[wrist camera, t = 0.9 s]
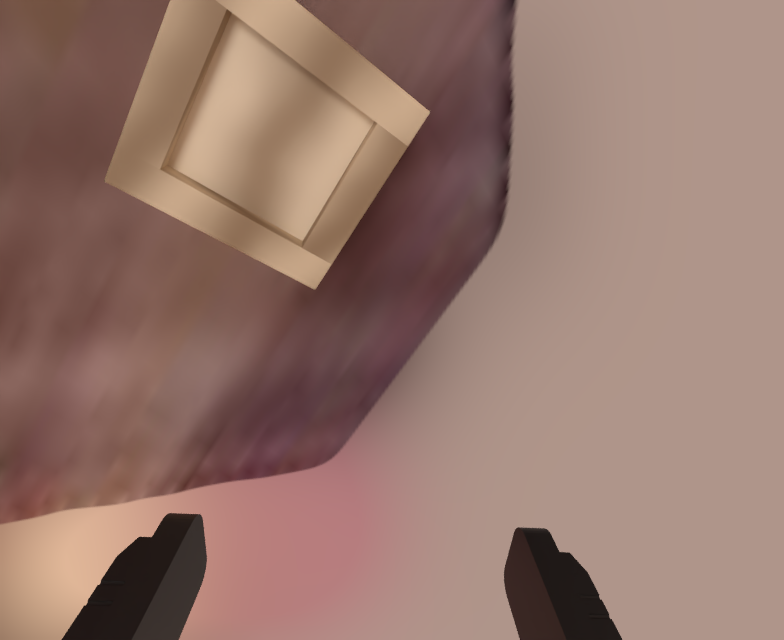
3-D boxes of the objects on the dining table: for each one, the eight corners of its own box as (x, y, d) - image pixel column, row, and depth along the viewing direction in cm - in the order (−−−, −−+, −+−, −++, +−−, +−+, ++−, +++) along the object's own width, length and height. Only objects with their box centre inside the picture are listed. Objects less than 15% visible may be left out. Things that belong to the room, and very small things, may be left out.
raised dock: (163, 152, 28) (104, 181, 20) (237, -28, 24) (199, -80, 16) (315, 239, 33) (315, 289, 25) (399, 102, 29) (430, 112, 21)
